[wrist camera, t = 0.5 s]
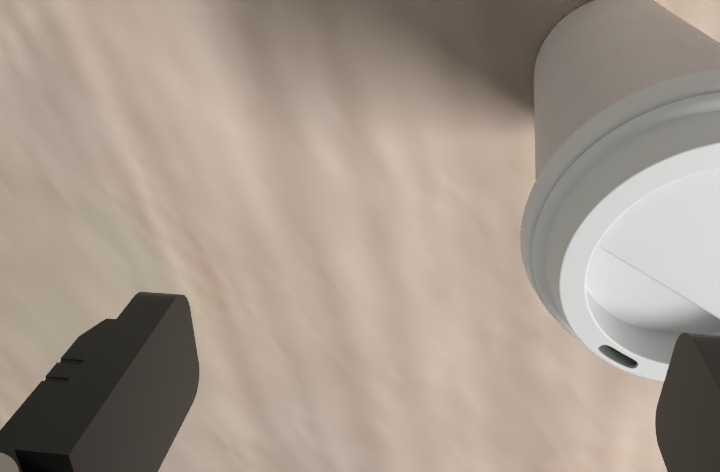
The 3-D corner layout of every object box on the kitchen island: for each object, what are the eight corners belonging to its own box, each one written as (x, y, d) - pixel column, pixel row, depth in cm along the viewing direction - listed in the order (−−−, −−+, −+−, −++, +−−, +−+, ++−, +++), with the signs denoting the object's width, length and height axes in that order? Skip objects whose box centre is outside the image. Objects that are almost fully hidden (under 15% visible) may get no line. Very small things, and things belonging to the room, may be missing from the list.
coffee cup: (458, 44, 29) (457, 231, 17) (669, -98, 25) (873, 12, 13) (561, 196, 33) (622, 440, 20) (759, 95, 28) (984, 325, 16)
